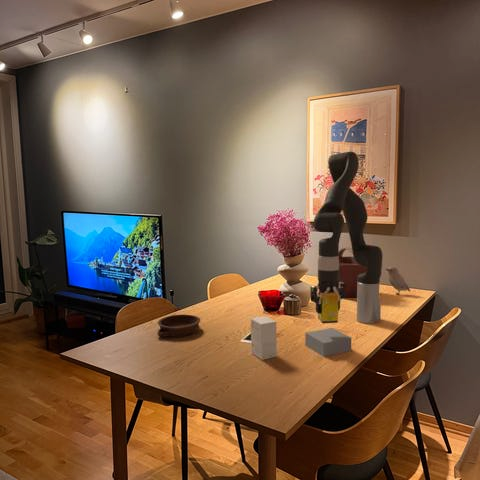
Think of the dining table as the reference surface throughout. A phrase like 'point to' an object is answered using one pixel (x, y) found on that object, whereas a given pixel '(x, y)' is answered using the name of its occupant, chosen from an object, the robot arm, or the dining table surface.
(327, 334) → the base block
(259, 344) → the small box
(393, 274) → the bird
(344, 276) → the bucket
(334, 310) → the supplement box
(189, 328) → the dish
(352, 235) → the robot arm
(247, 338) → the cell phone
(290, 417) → the dining table surface
